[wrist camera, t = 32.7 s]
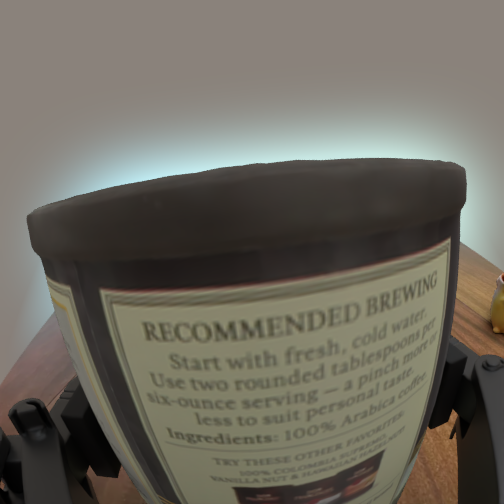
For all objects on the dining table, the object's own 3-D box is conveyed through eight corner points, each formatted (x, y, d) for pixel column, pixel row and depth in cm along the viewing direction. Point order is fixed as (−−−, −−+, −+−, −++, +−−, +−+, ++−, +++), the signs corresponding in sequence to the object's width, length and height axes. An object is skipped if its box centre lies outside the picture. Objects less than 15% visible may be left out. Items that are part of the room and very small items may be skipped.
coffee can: (293, 412, 18) (277, 175, 15) (429, 493, 9) (504, 168, 6) (140, 481, 12) (45, 209, 9) (247, 632, 4) (-91, 213, 1)
